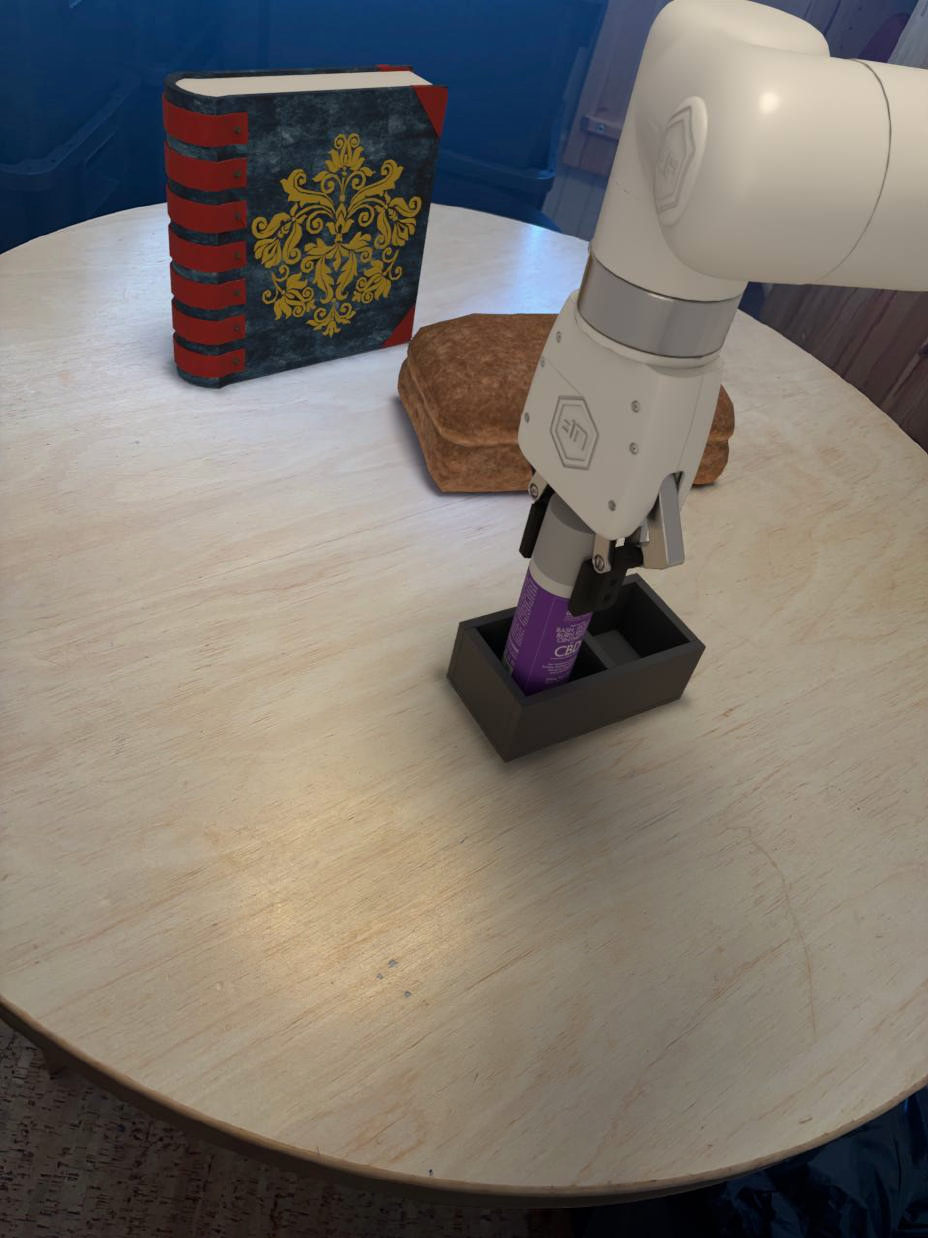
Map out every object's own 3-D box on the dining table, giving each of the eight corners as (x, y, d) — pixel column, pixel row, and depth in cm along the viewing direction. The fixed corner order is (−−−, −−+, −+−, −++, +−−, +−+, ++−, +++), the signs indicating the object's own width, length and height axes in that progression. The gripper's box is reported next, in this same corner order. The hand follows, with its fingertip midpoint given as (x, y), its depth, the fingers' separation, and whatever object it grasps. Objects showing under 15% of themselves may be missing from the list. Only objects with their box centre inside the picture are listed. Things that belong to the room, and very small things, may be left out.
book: (195, 395, 86) (188, 101, 69) (159, 358, 90) (144, 68, 73) (414, 344, 100) (454, 87, 83) (376, 313, 103) (407, 60, 86)
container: (543, 720, 63) (604, 547, 52) (483, 684, 64) (532, 509, 54) (575, 680, 66) (639, 510, 56) (518, 647, 67) (570, 475, 57)
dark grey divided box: (680, 698, 69) (706, 646, 66) (504, 762, 62) (522, 709, 59) (616, 624, 74) (637, 571, 70) (445, 676, 67) (458, 621, 63)
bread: (725, 491, 90) (773, 386, 82) (429, 501, 81) (451, 384, 73) (654, 393, 101) (689, 292, 94) (386, 392, 92) (401, 280, 84)
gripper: (501, 229, 49) (446, 508, 62) (710, 405, 39) (594, 693, 52) (615, 223, 53) (541, 488, 65) (832, 383, 43) (696, 658, 55)
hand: (565, 577), depth 58 cm, fingers closed on container, 4 cm apart
